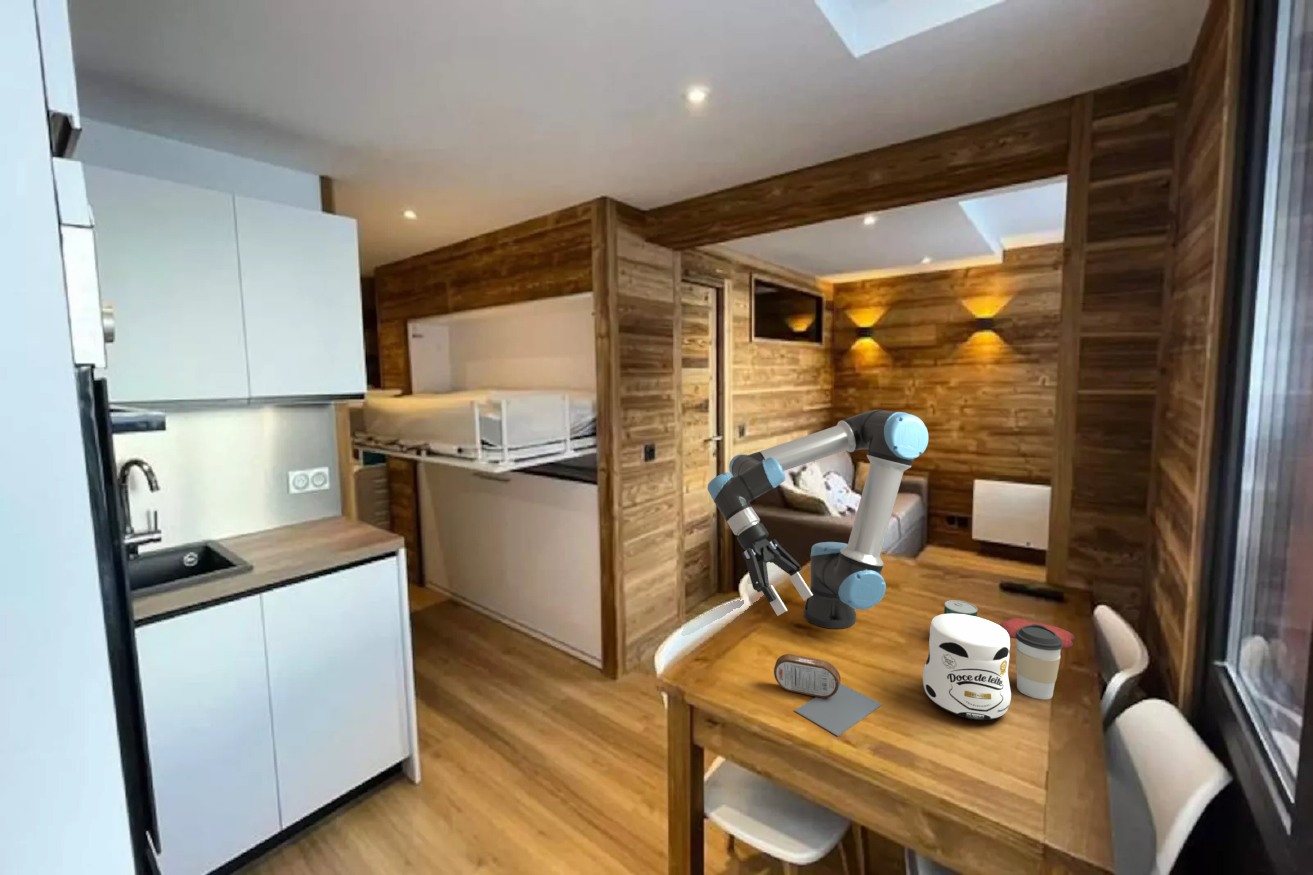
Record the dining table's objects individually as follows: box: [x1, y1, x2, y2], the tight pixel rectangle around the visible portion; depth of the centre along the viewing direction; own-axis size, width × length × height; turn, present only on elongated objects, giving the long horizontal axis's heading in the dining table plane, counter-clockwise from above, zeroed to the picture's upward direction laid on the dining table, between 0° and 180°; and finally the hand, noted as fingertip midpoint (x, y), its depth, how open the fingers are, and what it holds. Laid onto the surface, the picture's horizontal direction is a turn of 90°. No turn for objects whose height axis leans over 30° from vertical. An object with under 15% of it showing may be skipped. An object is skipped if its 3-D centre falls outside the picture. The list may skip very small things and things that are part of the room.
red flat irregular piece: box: [999, 617, 1075, 649], centre depth 158 cm, size 18×14×2 cm
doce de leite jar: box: [922, 613, 1012, 721], centre depth 125 cm, size 17×17×18 cm
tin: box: [773, 653, 842, 698], centre depth 130 cm, size 15×3×8 cm, turn 65°
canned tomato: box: [943, 599, 978, 617], centre depth 152 cm, size 8×8×11 cm
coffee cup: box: [1015, 624, 1063, 700], centre depth 130 cm, size 9×9×15 cm
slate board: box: [794, 682, 883, 737], centre depth 125 cm, size 11×17×1 cm, turn 128°
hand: (796, 605), depth 134 cm, fingers open, 13 cm apart
